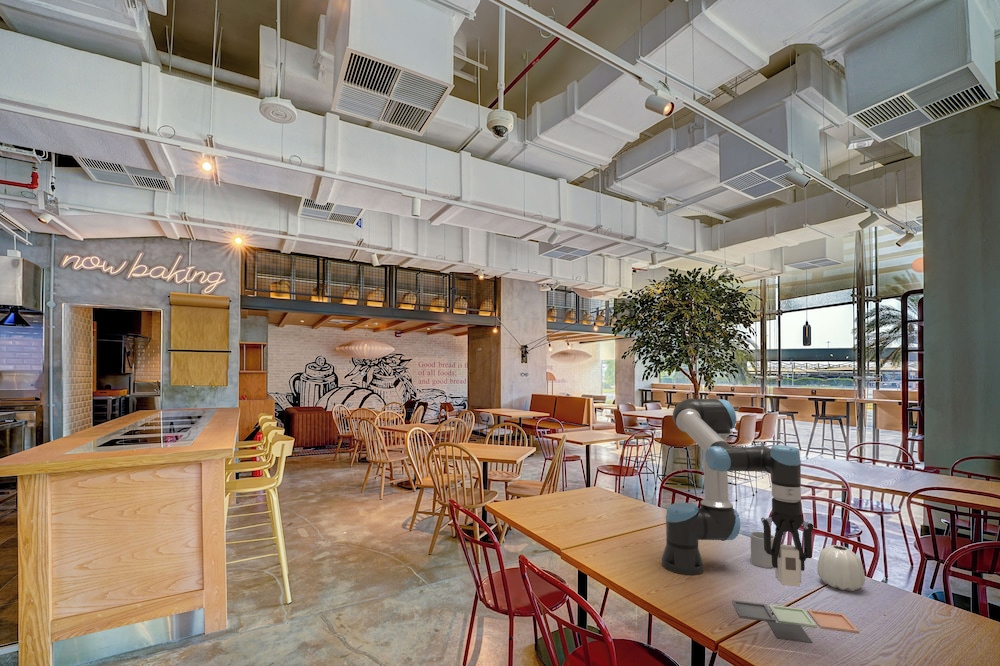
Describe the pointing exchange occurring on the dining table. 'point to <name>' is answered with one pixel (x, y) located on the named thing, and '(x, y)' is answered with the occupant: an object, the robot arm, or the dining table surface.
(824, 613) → the tray terracotta
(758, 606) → the tray charcoal
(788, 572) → the letter block
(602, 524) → the dining table surface
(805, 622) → the tray sage
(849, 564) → the vase
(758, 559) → the mug
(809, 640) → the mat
